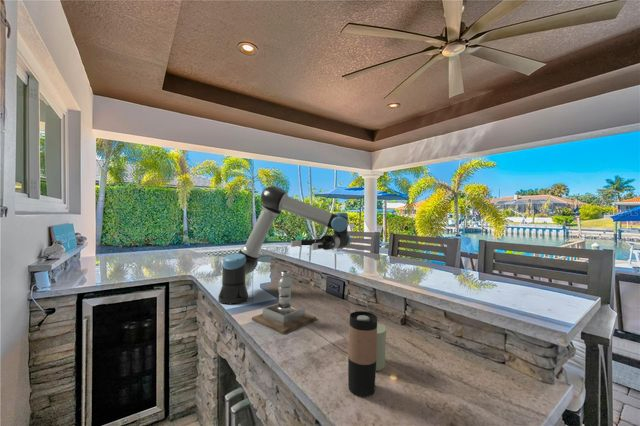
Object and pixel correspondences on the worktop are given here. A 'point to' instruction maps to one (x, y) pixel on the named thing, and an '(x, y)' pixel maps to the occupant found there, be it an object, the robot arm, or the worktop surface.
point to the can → (380, 347)
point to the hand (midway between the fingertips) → (301, 245)
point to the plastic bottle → (284, 294)
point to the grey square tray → (281, 319)
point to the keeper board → (287, 327)
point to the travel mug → (362, 353)
